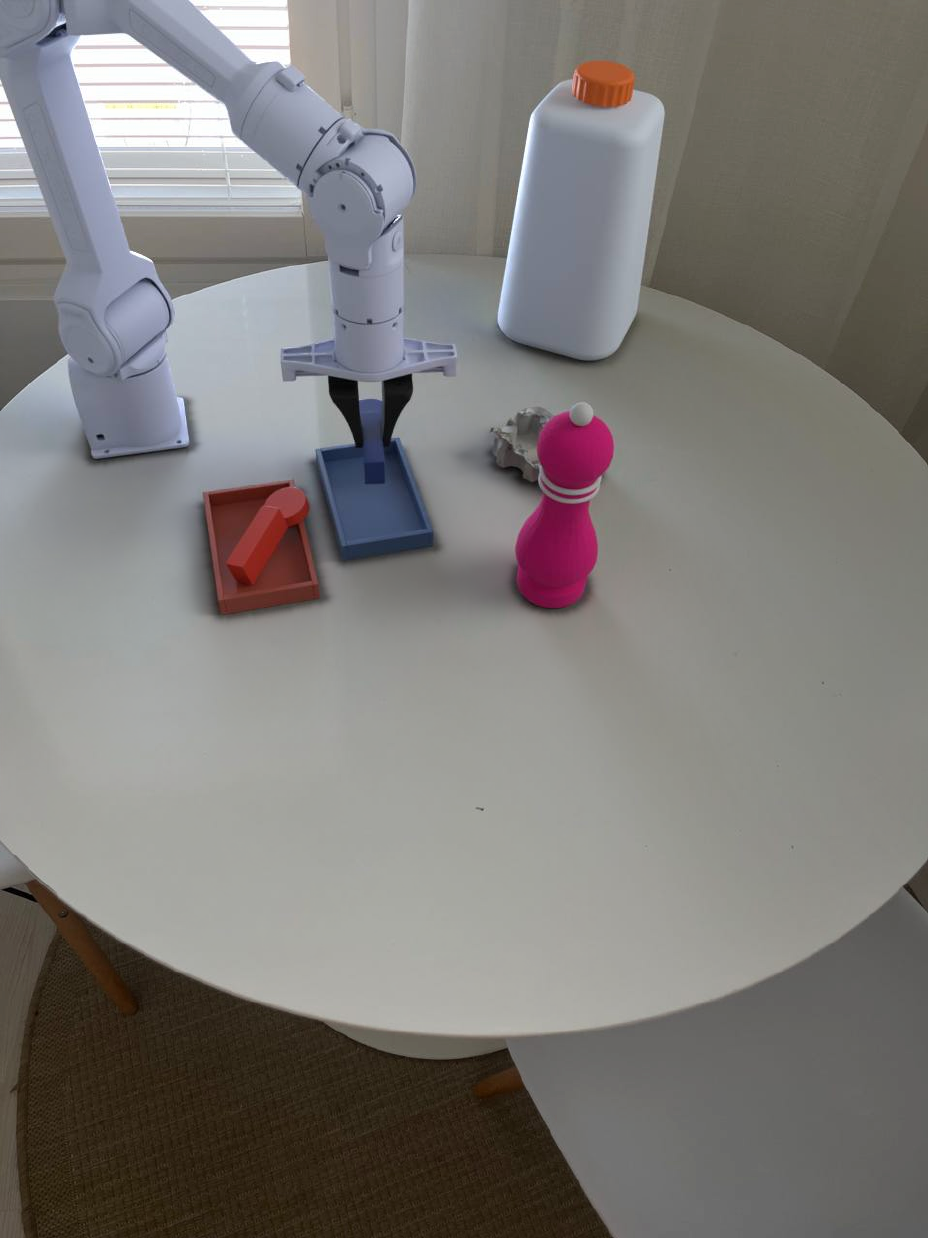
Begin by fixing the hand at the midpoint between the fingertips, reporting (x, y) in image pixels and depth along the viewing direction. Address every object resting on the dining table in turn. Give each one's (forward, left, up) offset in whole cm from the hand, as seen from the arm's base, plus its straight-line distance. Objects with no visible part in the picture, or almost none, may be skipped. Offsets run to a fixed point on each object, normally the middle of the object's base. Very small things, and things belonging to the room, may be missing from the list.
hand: (372, 440), depth 82 cm
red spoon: (-11, -4, -7) cm, 13 cm away
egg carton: (+18, +3, -8) cm, 20 cm away
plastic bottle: (+29, +27, -8) cm, 41 cm away
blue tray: (0, +1, -8) cm, 8 cm away
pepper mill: (+13, -13, -8) cm, 21 cm away
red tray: (-12, -3, -8) cm, 14 cm away
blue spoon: (0, +1, -2) cm, 2 cm away
